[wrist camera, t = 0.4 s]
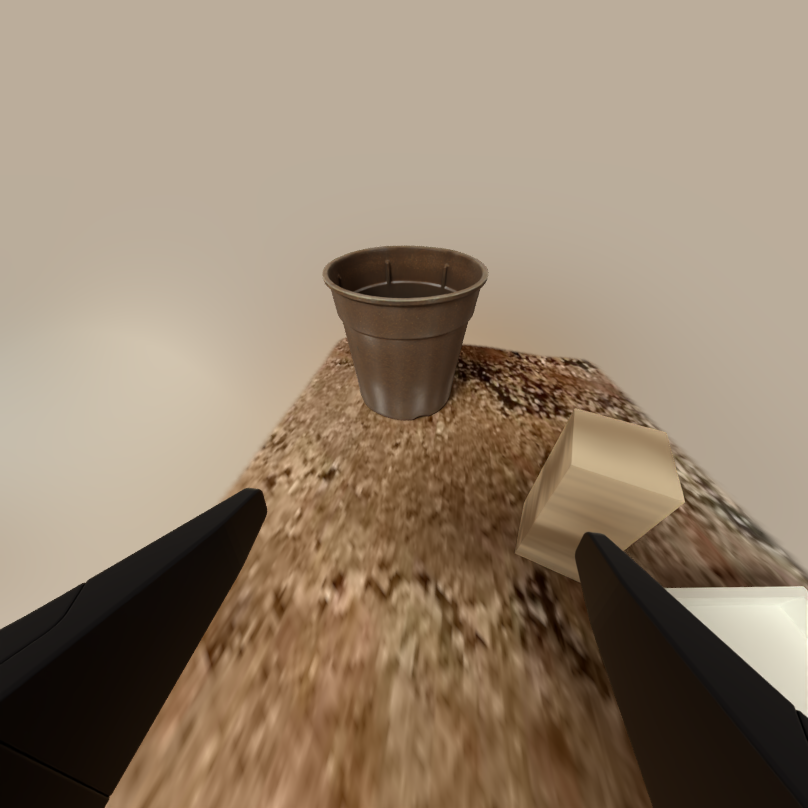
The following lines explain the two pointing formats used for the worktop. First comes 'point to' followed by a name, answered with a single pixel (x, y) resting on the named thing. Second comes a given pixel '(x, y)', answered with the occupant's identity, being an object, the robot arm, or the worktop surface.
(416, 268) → the plant pot
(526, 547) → the beech block
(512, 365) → the worktop surface
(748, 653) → the tray
